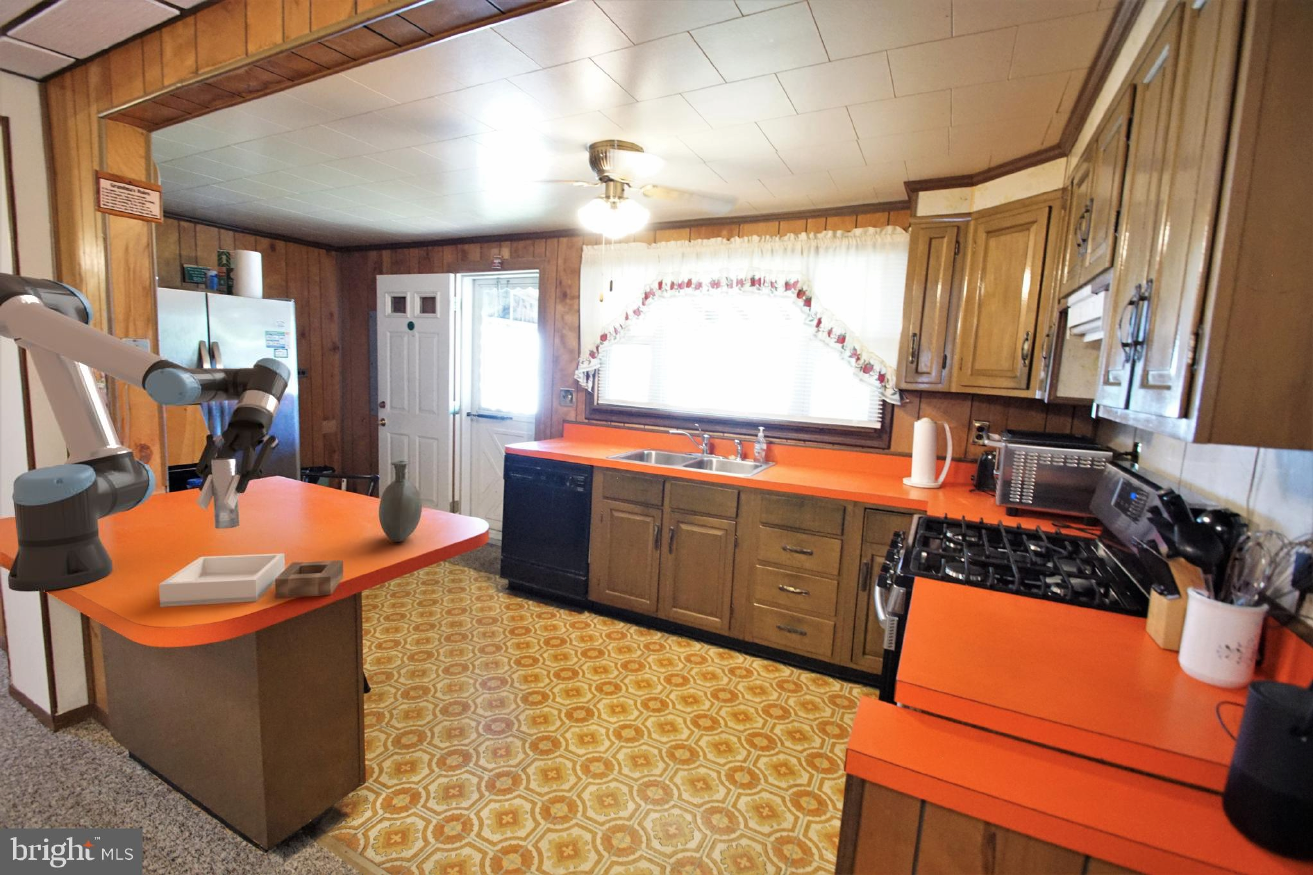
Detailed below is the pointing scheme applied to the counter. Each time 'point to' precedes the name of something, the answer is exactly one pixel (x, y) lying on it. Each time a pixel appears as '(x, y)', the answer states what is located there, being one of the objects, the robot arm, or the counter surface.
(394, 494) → the flask
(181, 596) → the tray
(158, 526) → the counter surface
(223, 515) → the steel pin
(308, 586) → the socket block
